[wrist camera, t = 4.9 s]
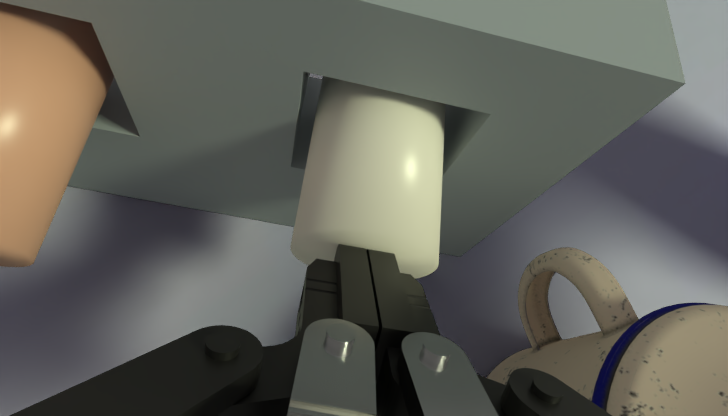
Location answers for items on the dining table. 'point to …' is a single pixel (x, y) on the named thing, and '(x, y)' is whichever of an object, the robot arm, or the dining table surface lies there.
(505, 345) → the dining table surface
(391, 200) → the cream button
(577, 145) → the button panel
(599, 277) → the teacup with lid
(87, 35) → the terracotta button
